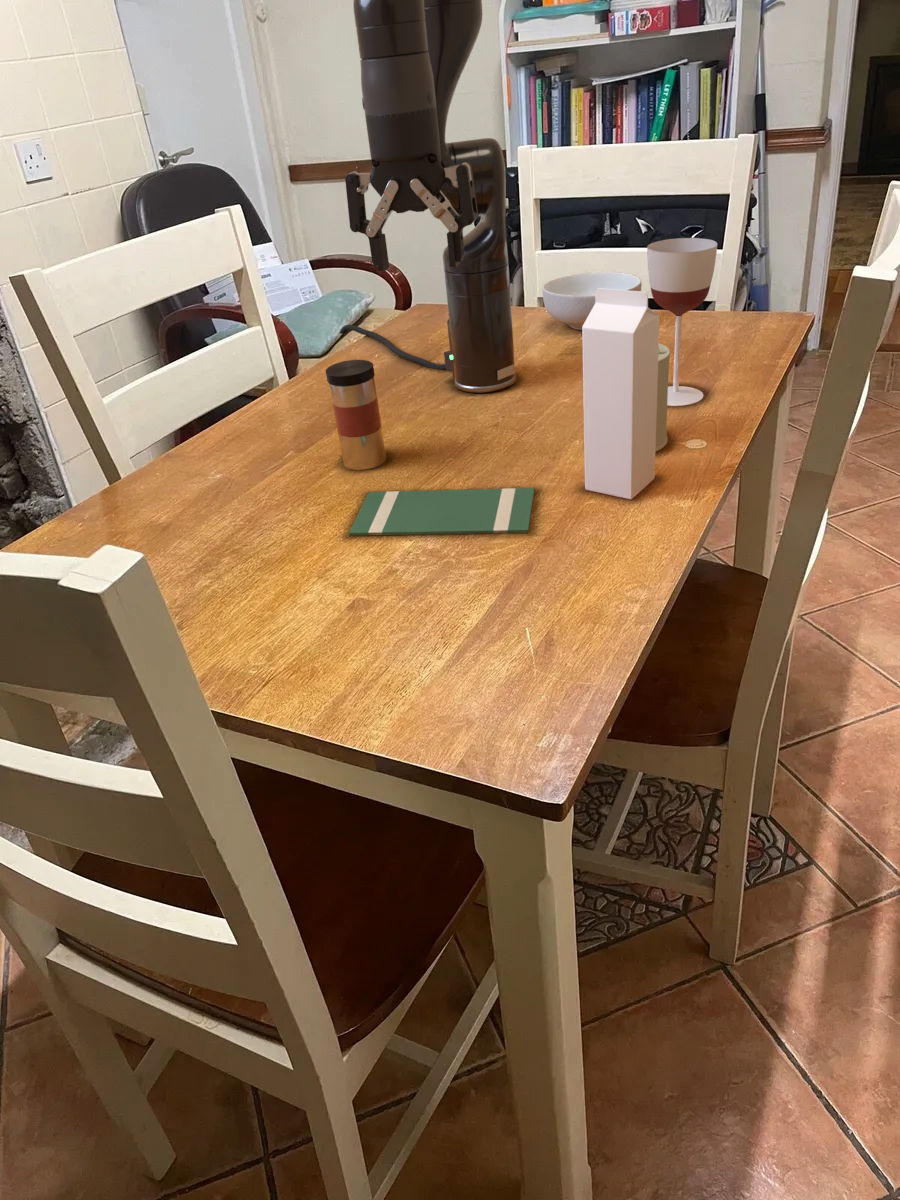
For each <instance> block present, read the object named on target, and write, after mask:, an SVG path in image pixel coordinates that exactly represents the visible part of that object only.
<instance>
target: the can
mask: <svg viewBox="0 0 900 1200" xmlns="http://www.w3.org/2000/svg"><path fill="white" fill-rule="evenodd" d="M670 356H671V350H670V348H669V347H668V346H667V345H665V344H662V343H660V342H659V352H658V384H657V417H656V450H655V453H656V452H659V451H660V450H662V449H663V448H664V447H666V445H667V443H668V433H667V432H668V429H667V426H668V425H667V424H668V406H667V398H668V387H669V377H670V376H669V374H670V372H669V371H670Z"/></svg>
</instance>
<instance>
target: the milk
mask: <svg viewBox="0 0 900 1200" xmlns="http://www.w3.org/2000/svg"><path fill="white" fill-rule="evenodd" d="M660 318H661V317H660V315H659V314H658V313H656V312H655V311H653V310H652V309H651V308H650V307H649V294H648V292H647V291H642V290H641V291H628V290H615V289H601V288H598V289H596V291H595V305H594V306H593V308H592V310H591V312H590V314H589V315H588V317H587V319H586V321H585V323H584V325H583V327H582V330H581V334H582V335H581V336H582V337H581V339H582V340H581V341H582V342H581V343H582V391H583V394H582V395H583V396H582V397H583V399H582V400H583V441H584V443H583V445H584V446H583V448H584V450H583V451H584V452H583V453H584V489H585V491H590V492H595V493H600V494H604V495H609V496H611V497H612V496H613V497H618V498H622V499H627V500H633V499H634V498H635V497H636V496H637V495H638V494H639V493H640V492H642V491H643V490H644V489H645V488H646V487H647V486H648V485H649V484H650V483H652V481H654V480H655V477H656V452H655V450H656V417H657V384H658V352H659V343H660Z"/></svg>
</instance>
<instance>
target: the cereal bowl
mask: <svg viewBox="0 0 900 1200" xmlns="http://www.w3.org/2000/svg"><path fill="white" fill-rule="evenodd" d="M598 288H601V289H615V290H628V291H641V292H642V279H641V278H640V277H639V276H637V275H634V274H630V273H626V272H618V271H591V272H582V273H574V274H570V275H564V276H561V277H557V278H554V279H551V280H549V281H547V282H545V283H543V286H542V288H541V291H542V301H543V305H544V308H545V310H546V312H547V313H548V314H549V315H550V316H551V318H553V319H554V320H556V321H558V322H560V323H563V324H566V325H568V326H569V327H570V328H571V329H574V330H578V331H582V327H583V325H584V323H585V321H586V319H587V317H588V315H589V314H590V312H591V310H592V308H593V306H594V305H595V291H596V289H598Z"/></svg>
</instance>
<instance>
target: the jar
mask: <svg viewBox="0 0 900 1200" xmlns="http://www.w3.org/2000/svg"><path fill="white" fill-rule="evenodd" d="M375 376H376V375H375V368H374V363H373V362H372V361H369V360H368V359H367V360H366V359H349V360H343V361H340V362H337V363H334V364H332V365H329V366H328V367H326V369H325V377H326V381H327V383H328V385H329V386H328V387H329V391H330V397H331V401H332V402H331V403H332V408H333V413H334V420H335V425H336V430H337V435H338V440H339V446H340V450H341V451H340V452H341V456H342V457H341V458H342V461H343V465H344V467H345V468H347V469H349V470H354V471H355V470H356V471H363V470H364V471H365V470H369V469H374V468H377V467H379V466H381V465H382V464H383V463H385V462H386V460H387V454H386V446H385V441H384V434H383V428H382V420H381V414H380V406H379V401H378V394H377V389H376V383H375Z"/></svg>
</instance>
